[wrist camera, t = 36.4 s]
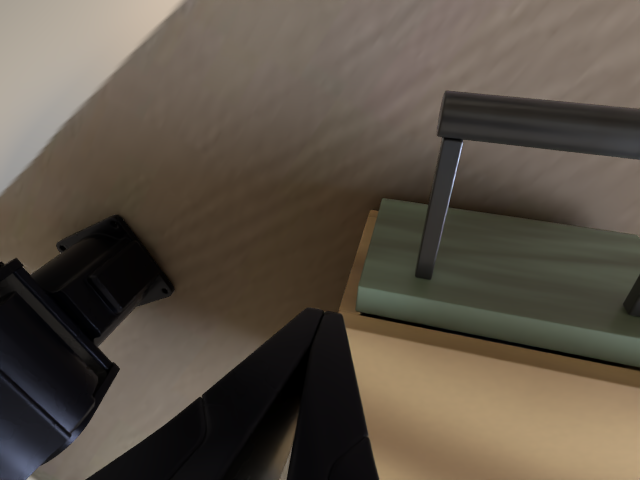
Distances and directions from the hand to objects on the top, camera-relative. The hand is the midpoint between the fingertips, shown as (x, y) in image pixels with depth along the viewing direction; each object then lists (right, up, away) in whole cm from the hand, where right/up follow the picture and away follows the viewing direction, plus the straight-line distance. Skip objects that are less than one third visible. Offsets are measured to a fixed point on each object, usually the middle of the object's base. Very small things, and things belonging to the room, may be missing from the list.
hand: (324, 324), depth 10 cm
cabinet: (+8, -3, +15) cm, 17 cm away
